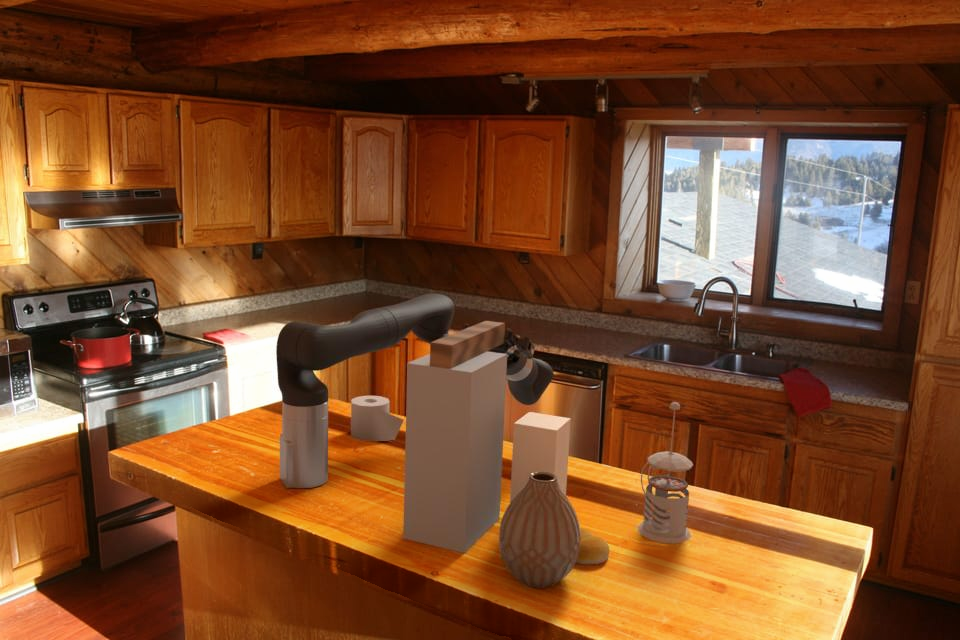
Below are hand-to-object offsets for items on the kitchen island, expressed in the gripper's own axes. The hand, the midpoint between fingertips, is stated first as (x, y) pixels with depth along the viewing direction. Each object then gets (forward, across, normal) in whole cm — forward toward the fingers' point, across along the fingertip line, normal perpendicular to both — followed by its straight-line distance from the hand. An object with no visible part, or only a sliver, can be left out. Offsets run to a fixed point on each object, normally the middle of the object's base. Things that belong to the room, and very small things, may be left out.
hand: (485, 331), depth 154 cm
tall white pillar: (-7, 0, -36) cm, 37 cm away
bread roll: (-9, -24, -36) cm, 44 cm away
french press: (-23, -35, -27) cm, 50 cm away
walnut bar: (+5, 0, -6) cm, 8 cm away
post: (-13, -14, -33) cm, 38 cm away
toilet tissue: (-40, +39, -17) cm, 59 cm away
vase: (+2, -20, -42) cm, 46 cm away
